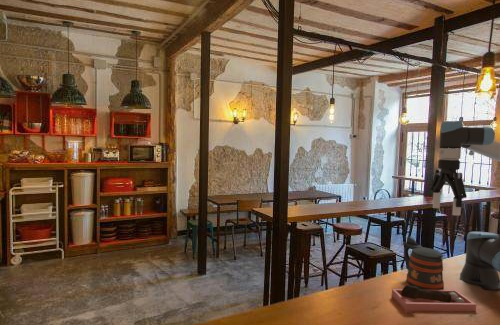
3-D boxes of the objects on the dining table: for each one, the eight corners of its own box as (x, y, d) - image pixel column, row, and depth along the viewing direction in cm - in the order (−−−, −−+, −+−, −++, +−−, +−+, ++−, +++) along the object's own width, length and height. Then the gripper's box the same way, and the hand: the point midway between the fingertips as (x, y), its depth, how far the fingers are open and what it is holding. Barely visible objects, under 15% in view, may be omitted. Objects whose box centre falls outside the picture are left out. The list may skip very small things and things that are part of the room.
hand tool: (444, 300, 132) (446, 288, 131) (450, 305, 128) (453, 293, 127) (397, 293, 131) (399, 281, 131) (402, 298, 127) (404, 286, 127)
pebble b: (460, 303, 129) (461, 296, 129) (466, 307, 126) (466, 299, 126) (453, 303, 129) (453, 296, 129) (458, 307, 126) (458, 299, 126)
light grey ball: (454, 298, 133) (455, 290, 133) (459, 302, 130) (460, 294, 130) (446, 298, 133) (447, 290, 133) (451, 302, 130) (452, 294, 130)
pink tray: (455, 298, 136) (455, 289, 135) (475, 313, 124) (476, 304, 123) (391, 297, 135) (391, 289, 135) (405, 312, 123) (406, 303, 123)
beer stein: (389, 280, 151) (392, 237, 150) (412, 275, 157) (415, 234, 156) (427, 299, 134) (430, 250, 133) (451, 293, 140) (454, 246, 139)
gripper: (423, 157, 147) (420, 205, 149) (459, 161, 123) (456, 218, 124) (440, 157, 148) (437, 205, 149) (480, 161, 123) (476, 218, 124)
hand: (445, 211), depth 137 cm, fingers open, 13 cm apart
